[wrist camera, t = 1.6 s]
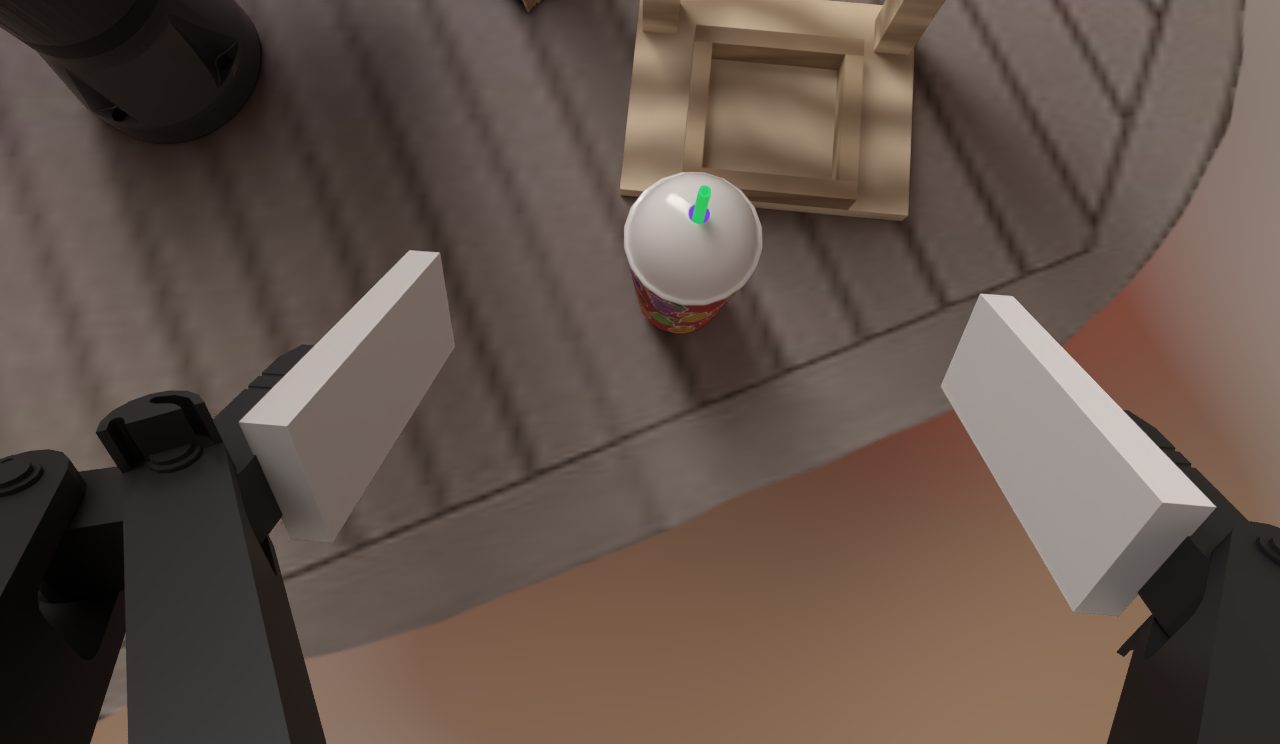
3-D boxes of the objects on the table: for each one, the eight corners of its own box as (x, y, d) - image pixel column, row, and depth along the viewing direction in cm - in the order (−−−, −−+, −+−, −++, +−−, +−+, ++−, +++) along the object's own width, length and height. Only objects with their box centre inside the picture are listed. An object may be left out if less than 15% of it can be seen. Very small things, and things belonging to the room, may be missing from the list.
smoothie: (740, 264, 49) (808, 139, 29) (712, 358, 48) (763, 294, 28) (644, 236, 49) (648, 93, 30) (615, 329, 48) (598, 245, 28)
